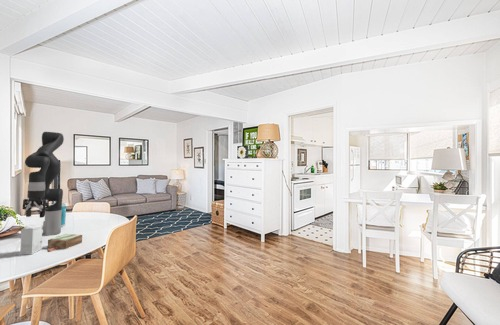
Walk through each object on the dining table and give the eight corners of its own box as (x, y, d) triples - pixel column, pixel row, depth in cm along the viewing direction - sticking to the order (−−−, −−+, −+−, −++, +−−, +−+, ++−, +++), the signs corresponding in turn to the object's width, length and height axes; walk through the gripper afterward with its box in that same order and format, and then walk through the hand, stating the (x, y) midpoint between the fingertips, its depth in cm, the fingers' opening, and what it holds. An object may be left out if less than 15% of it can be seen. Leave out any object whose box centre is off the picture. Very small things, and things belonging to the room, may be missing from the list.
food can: (56, 229, 175) (57, 206, 175) (41, 228, 174) (42, 205, 175) (68, 225, 187) (69, 203, 187) (54, 224, 186) (55, 203, 187)
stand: (47, 247, 137) (48, 239, 137) (65, 241, 149) (65, 233, 149) (65, 249, 136) (66, 240, 136) (82, 242, 148) (82, 234, 148)
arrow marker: (51, 251, 131) (51, 250, 131) (46, 251, 131) (46, 249, 131) (59, 248, 137) (59, 246, 137) (55, 248, 137) (55, 246, 137)
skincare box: (32, 254, 126) (33, 228, 127) (19, 255, 125) (20, 228, 125) (42, 249, 135) (43, 224, 135) (30, 249, 133) (31, 224, 134)
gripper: (18, 189, 128) (17, 217, 128) (41, 190, 127) (39, 219, 127) (32, 188, 135) (30, 215, 135) (53, 189, 134) (52, 216, 134)
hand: (35, 216), depth 131 cm, fingers open, 8 cm apart
